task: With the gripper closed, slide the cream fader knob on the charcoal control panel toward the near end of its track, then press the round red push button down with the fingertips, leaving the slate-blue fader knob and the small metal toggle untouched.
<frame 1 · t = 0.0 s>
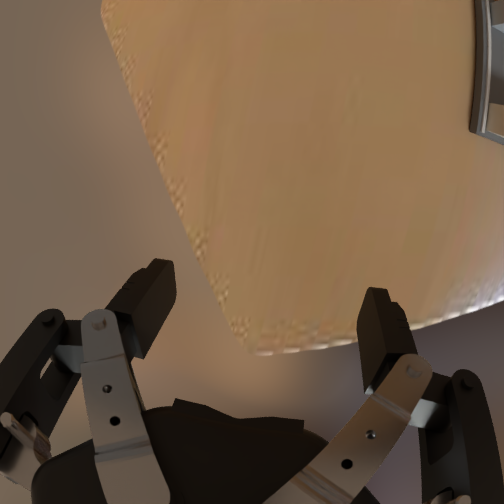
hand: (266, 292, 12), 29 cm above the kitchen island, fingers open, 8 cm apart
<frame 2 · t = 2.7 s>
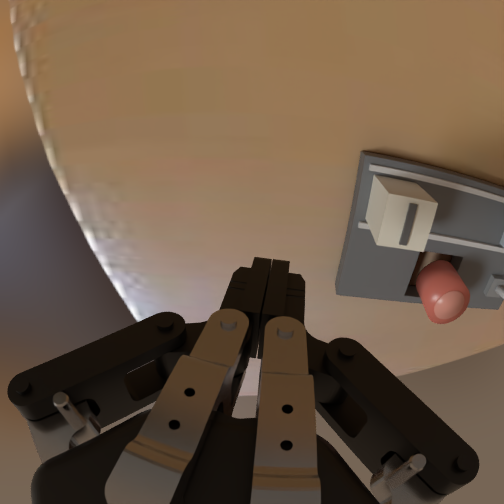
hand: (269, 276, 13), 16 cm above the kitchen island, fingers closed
panel: (446, 238, 26), on the kitchen island
red push button: (442, 292, 24), point 5 cm above the kitchen island, slide at 0.0 cm
cream fader knob: (399, 211, 22), point 5 cm above the kitchen island, slide at 0.0 cm
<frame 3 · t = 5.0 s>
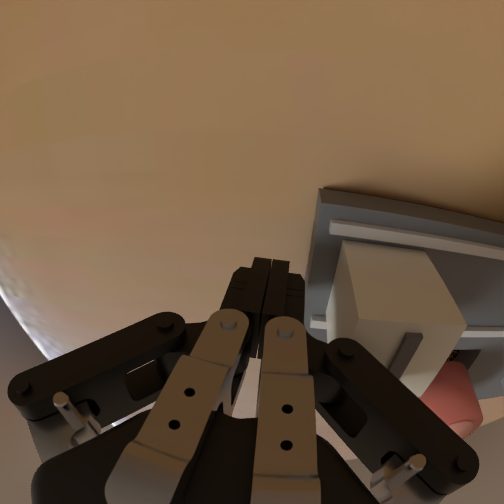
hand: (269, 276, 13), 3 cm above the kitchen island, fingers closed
panel: (459, 319, 16), on the kitchen island
red push button: (443, 408, 14), point 5 cm above the kitchen island, slide at 0.0 cm
cream fader knob: (385, 320, 11), point 5 cm above the kitchen island, slide at 0.2 cm, touching gripper
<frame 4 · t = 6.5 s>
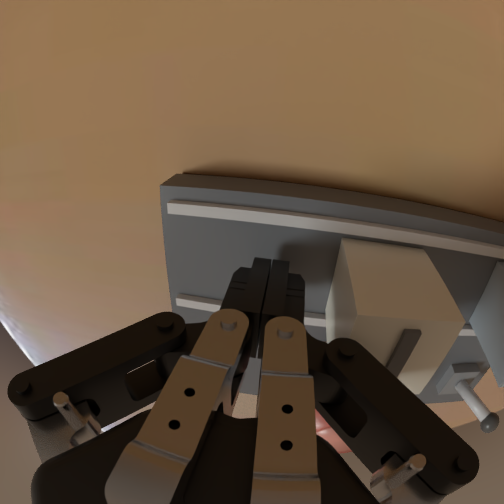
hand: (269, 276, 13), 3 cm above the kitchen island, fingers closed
panel: (366, 311, 17), on the kitchen island
red push button: (339, 409, 15), point 5 cm above the kitchen island, slide at 0.0 cm
cream fader knob: (384, 317, 11), point 5 cm above the kitchen island, slide at 7.1 cm, touching gripper
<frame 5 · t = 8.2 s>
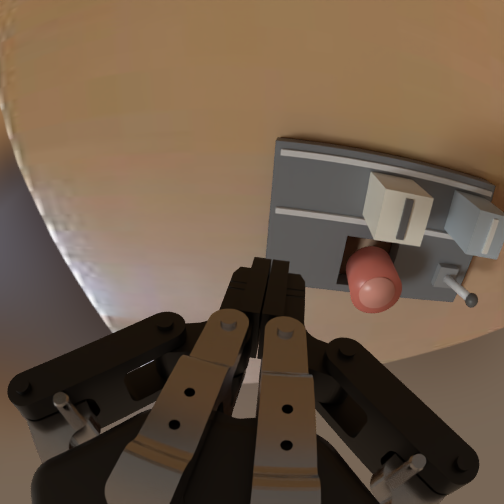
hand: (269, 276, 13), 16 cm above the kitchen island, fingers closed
slate-blue fader knob: (477, 224, 21), point 5 cm above the kitchen island, slide at 0.0 cm
panel: (381, 224, 28), on the kitchen island
red push button: (372, 279, 26), point 5 cm above the kitchen island, slide at 0.0 cm
cream fader knob: (395, 207, 22), point 5 cm above the kitchen island, slide at 7.3 cm
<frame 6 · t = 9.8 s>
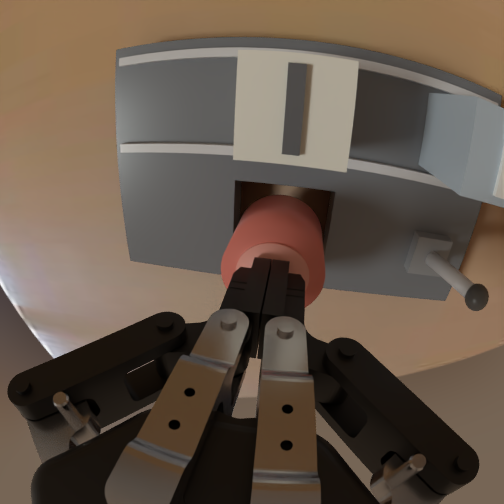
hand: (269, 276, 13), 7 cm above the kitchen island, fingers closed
slate-blue fader knob: (478, 147, 10), point 5 cm above the kitchen island, slide at 0.0 cm
panel: (305, 164, 17), on the kitchen island
red push button: (276, 253, 15), point 5 cm above the kitchen island, slide at 0.1 cm, touching gripper
cream fader knob: (296, 106, 11), point 5 cm above the kitchen island, slide at 7.3 cm
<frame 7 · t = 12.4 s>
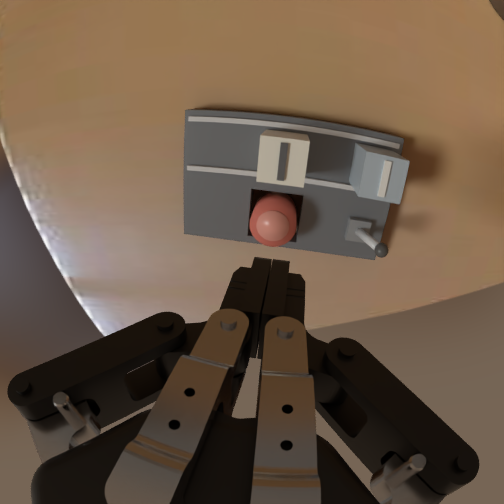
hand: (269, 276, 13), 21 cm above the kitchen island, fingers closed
slate-blue fader knob: (377, 171, 25), point 5 cm above the kitchen island, slide at 0.0 cm
panel: (288, 180, 32), on the kitchen island
red push button: (274, 218, 31), point 3 cm above the kitchen island, slide at 2.1 cm
cream fader knob: (283, 156, 26), point 5 cm above the kitchen island, slide at 7.3 cm
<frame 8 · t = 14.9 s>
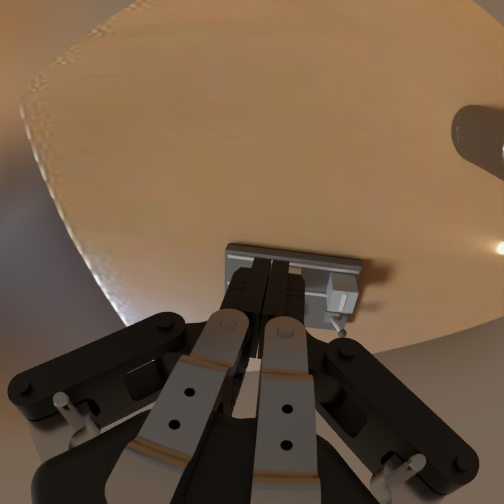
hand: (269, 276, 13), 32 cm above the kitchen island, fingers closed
slate-blue fader knob: (341, 292, 45), point 5 cm above the kitchen island, slide at 0.0 cm
panel: (289, 287, 52), on the kitchen island
cream fader knob: (286, 285, 46), point 5 cm above the kitchen island, slide at 7.3 cm
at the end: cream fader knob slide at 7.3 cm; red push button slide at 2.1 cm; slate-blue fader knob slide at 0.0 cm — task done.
